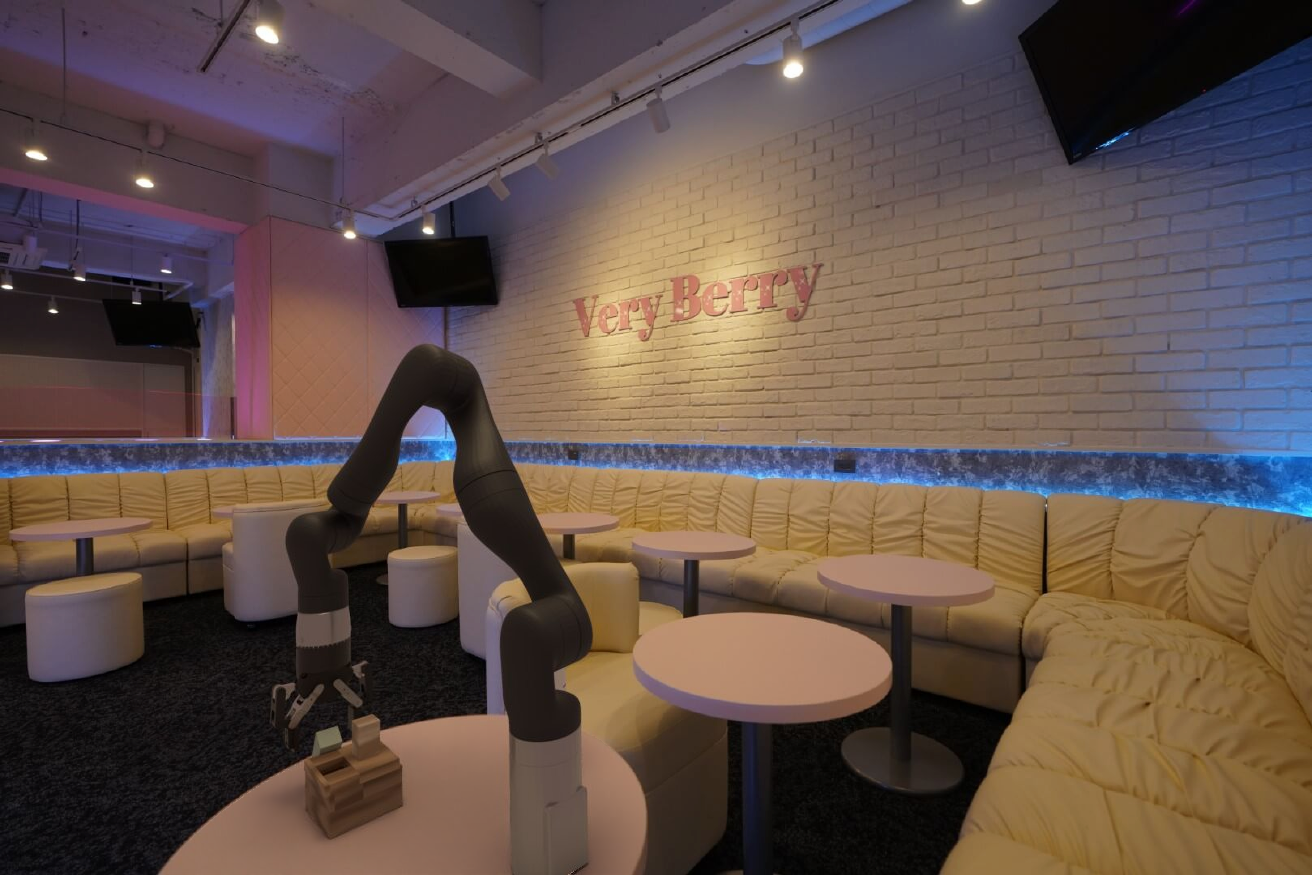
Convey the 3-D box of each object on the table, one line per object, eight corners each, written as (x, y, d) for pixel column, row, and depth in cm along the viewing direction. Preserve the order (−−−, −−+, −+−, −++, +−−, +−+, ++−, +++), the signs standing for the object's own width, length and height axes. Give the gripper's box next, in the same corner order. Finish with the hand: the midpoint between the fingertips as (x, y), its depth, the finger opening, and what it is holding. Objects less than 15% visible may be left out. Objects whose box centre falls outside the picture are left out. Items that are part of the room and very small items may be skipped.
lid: (399, 768, 86) (399, 724, 86) (325, 797, 79) (324, 749, 79) (374, 744, 93) (374, 704, 93) (304, 770, 86) (303, 726, 86)
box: (402, 805, 87) (402, 764, 87) (330, 839, 80) (329, 795, 80) (374, 780, 94) (374, 743, 94) (305, 809, 86) (305, 769, 87)
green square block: (342, 741, 89) (333, 784, 93) (337, 725, 91) (329, 768, 95) (320, 748, 87) (312, 792, 91) (315, 732, 89) (308, 775, 93)
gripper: (361, 621, 100) (361, 716, 100) (264, 643, 90) (265, 749, 89) (379, 630, 95) (380, 730, 95) (279, 654, 85) (280, 766, 84)
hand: (324, 739), depth 92 cm, fingers open, 8 cm apart
